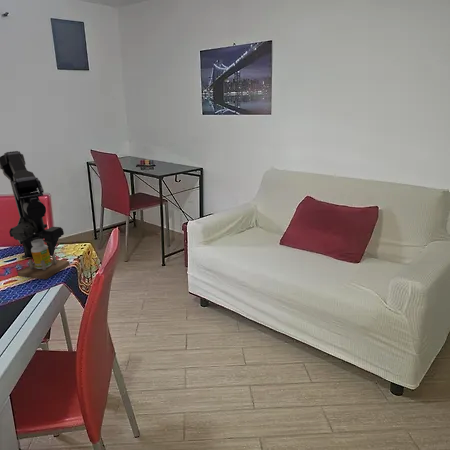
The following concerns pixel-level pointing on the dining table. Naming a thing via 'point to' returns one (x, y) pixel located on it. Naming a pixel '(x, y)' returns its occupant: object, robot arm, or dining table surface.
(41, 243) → the supplement bottle
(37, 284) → the dining table surface
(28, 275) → the peg cradle
